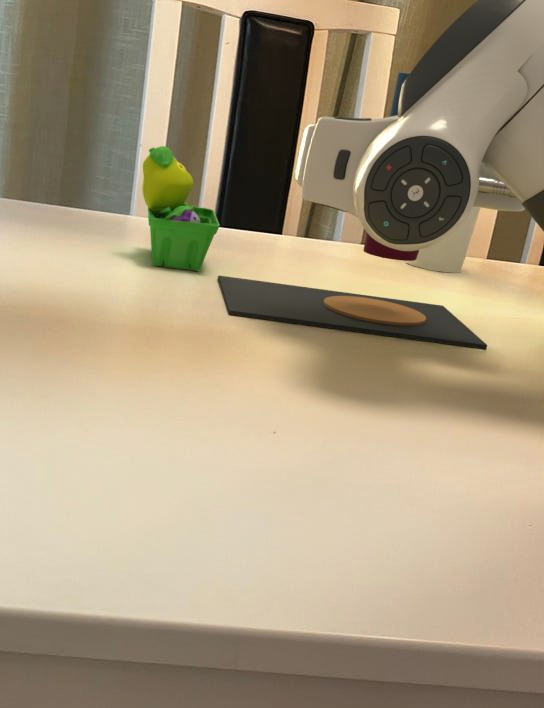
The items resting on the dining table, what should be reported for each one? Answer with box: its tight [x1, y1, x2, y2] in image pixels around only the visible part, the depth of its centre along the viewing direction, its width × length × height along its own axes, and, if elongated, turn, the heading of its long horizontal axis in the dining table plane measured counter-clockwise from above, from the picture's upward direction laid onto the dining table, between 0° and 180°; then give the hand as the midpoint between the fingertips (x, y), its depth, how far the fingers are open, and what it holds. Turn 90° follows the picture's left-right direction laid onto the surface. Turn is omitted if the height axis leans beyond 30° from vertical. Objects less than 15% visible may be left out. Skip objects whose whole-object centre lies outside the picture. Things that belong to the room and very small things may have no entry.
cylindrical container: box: [404, 206, 481, 273], centre depth 124 cm, size 7×7×25 cm
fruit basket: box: [142, 145, 221, 272], centre depth 109 cm, size 11×9×11 cm
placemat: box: [217, 275, 488, 350], centre depth 99 cm, size 24×16×1 cm, turn 86°
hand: (413, 163), depth 93 cm, fingers closed on cup, 6 cm apart
